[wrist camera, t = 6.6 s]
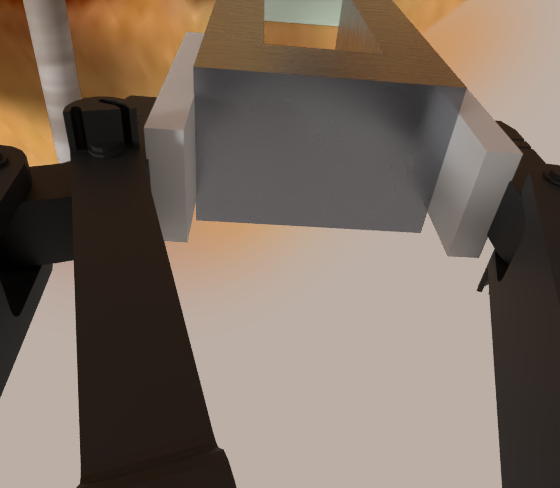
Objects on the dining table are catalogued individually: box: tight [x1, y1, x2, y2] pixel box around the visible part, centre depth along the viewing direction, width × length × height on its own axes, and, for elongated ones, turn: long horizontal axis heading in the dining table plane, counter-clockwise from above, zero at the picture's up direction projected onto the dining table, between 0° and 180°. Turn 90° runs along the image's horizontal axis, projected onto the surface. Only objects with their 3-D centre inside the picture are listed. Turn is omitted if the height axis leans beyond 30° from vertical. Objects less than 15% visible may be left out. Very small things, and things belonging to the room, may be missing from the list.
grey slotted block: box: [193, 0, 467, 233], centre depth 16 cm, size 4×6×10 cm, turn 85°
